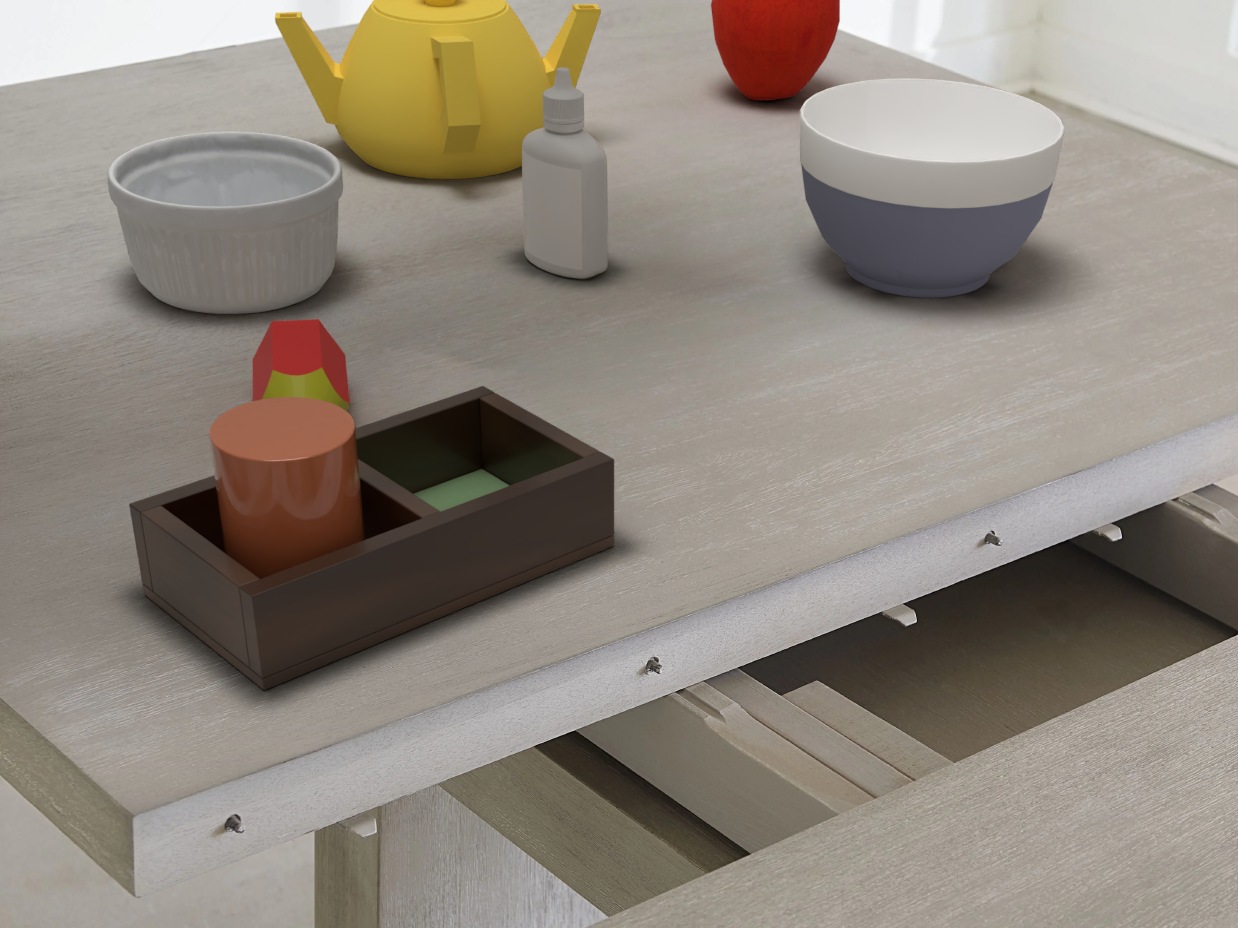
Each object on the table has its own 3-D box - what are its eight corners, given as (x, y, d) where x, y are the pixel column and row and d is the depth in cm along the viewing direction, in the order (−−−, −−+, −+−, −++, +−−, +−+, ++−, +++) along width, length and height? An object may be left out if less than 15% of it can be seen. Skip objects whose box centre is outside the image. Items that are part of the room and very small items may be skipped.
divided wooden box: (143, 594, 85) (128, 503, 82) (486, 468, 96) (483, 384, 93) (264, 690, 79) (252, 596, 77) (614, 545, 90) (614, 458, 88)
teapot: (432, 96, 145) (422, -71, 138) (614, 141, 138) (613, -32, 131) (278, 155, 133) (260, -25, 126) (469, 207, 126) (460, 21, 119)
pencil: (257, 502, 92) (247, 424, 90) (256, 395, 102) (248, 322, 99) (358, 496, 93) (351, 419, 91) (348, 390, 103) (341, 317, 100)
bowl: (872, 337, 111) (885, 176, 106) (746, 243, 123) (753, 93, 117) (1095, 297, 118) (1118, 143, 112) (955, 211, 129) (971, 67, 123)
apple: (802, 125, 143) (812, -46, 136) (684, 103, 146) (688, -66, 139) (854, 91, 150) (866, -73, 143) (741, 70, 153) (747, -91, 146)
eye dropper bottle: (544, 285, 116) (540, 86, 109) (519, 252, 120) (513, 57, 113) (613, 278, 117) (613, 80, 110) (586, 245, 121) (584, 52, 114)
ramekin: (388, 259, 118) (381, 147, 114) (283, 340, 108) (271, 221, 104) (198, 227, 121) (184, 118, 117) (78, 303, 111) (58, 186, 107)
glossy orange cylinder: (204, 585, 85) (181, 422, 80) (320, 543, 88) (304, 383, 84) (278, 642, 81) (258, 474, 77) (395, 595, 85) (383, 432, 80)
